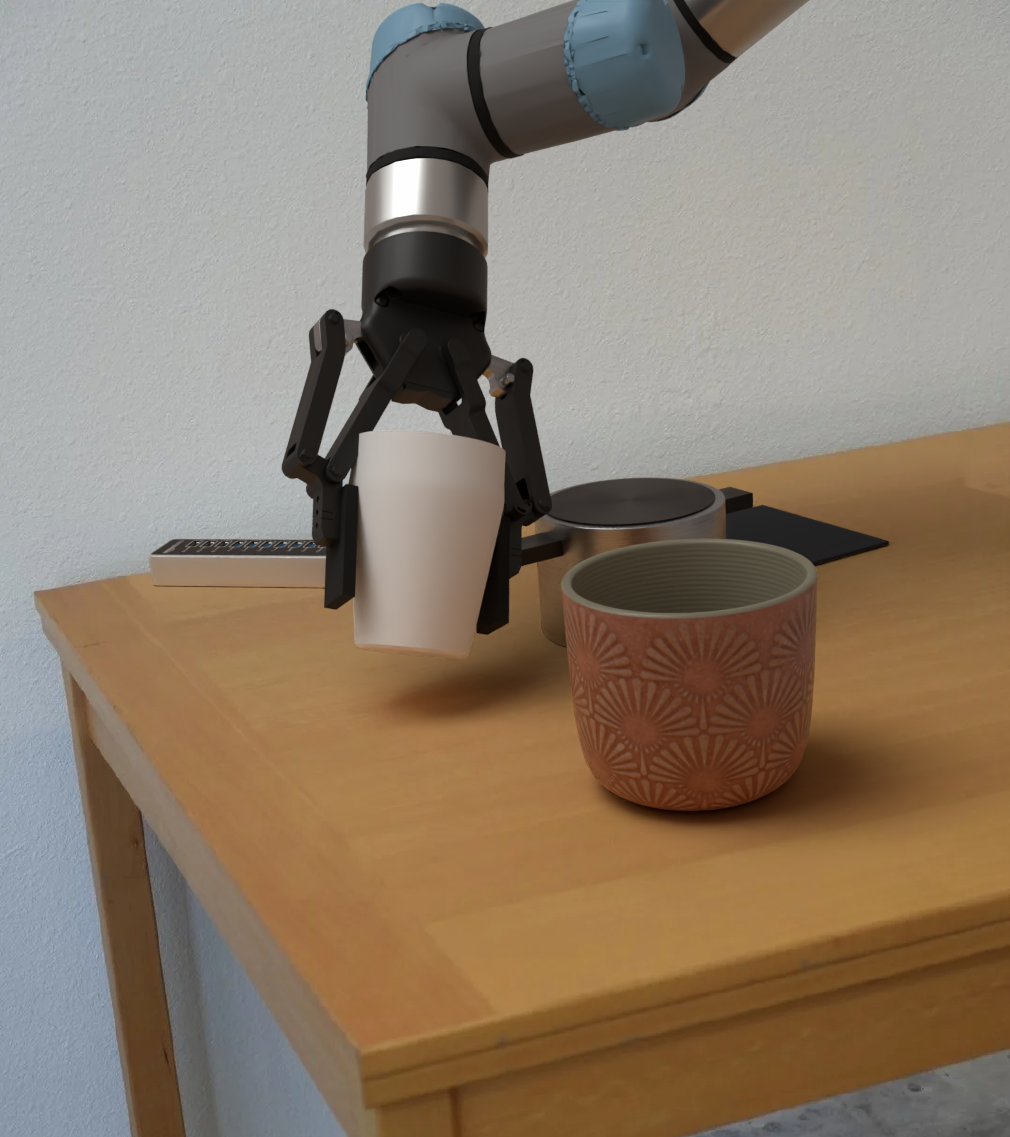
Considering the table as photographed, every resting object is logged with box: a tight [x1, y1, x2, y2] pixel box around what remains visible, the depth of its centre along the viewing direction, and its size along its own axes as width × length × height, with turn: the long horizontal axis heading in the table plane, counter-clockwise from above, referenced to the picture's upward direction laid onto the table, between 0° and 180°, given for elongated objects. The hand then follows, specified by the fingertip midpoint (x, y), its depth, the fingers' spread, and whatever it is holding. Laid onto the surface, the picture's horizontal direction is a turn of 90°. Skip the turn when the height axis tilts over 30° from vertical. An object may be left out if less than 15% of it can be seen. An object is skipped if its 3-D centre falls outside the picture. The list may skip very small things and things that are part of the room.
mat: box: [726, 504, 890, 566], centre depth 124 cm, size 14×14×1 cm
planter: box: [561, 539, 819, 812], centre depth 85 cm, size 12×12×11 cm
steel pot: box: [521, 477, 754, 648], centre depth 108 cm, size 12×18×8 cm, turn 122°
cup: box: [347, 429, 506, 660], centre depth 98 cm, size 9×9×12 cm
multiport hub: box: [147, 538, 326, 589], centre depth 125 cm, size 4×14×2 cm, turn 75°
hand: (417, 615), depth 97 cm, fingers closed on cup, 9 cm apart
